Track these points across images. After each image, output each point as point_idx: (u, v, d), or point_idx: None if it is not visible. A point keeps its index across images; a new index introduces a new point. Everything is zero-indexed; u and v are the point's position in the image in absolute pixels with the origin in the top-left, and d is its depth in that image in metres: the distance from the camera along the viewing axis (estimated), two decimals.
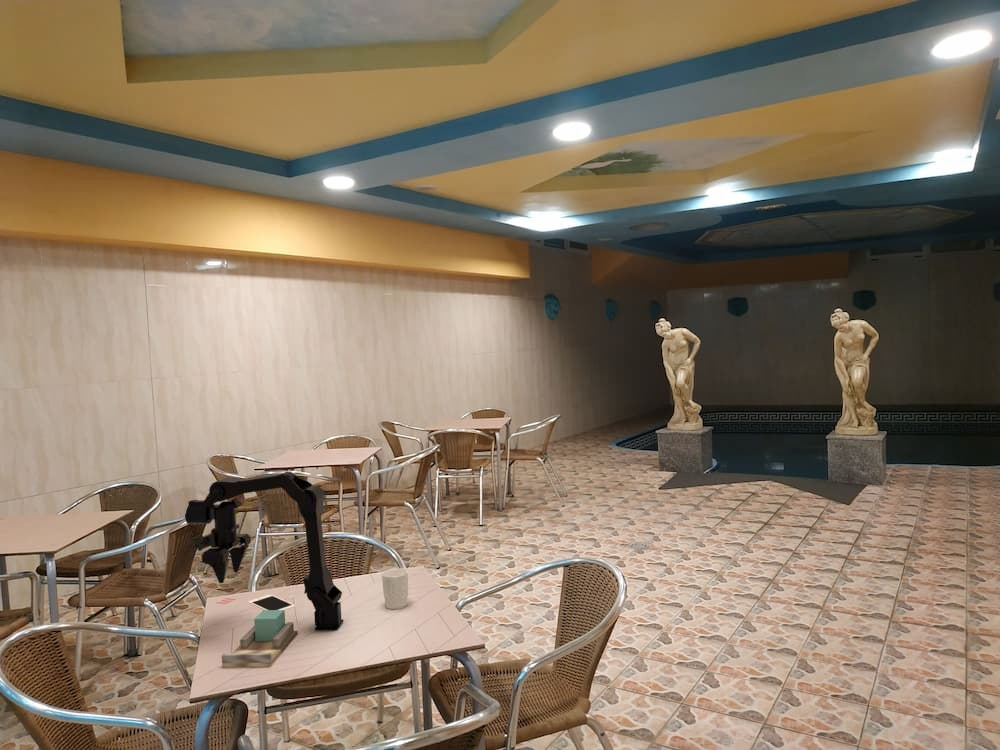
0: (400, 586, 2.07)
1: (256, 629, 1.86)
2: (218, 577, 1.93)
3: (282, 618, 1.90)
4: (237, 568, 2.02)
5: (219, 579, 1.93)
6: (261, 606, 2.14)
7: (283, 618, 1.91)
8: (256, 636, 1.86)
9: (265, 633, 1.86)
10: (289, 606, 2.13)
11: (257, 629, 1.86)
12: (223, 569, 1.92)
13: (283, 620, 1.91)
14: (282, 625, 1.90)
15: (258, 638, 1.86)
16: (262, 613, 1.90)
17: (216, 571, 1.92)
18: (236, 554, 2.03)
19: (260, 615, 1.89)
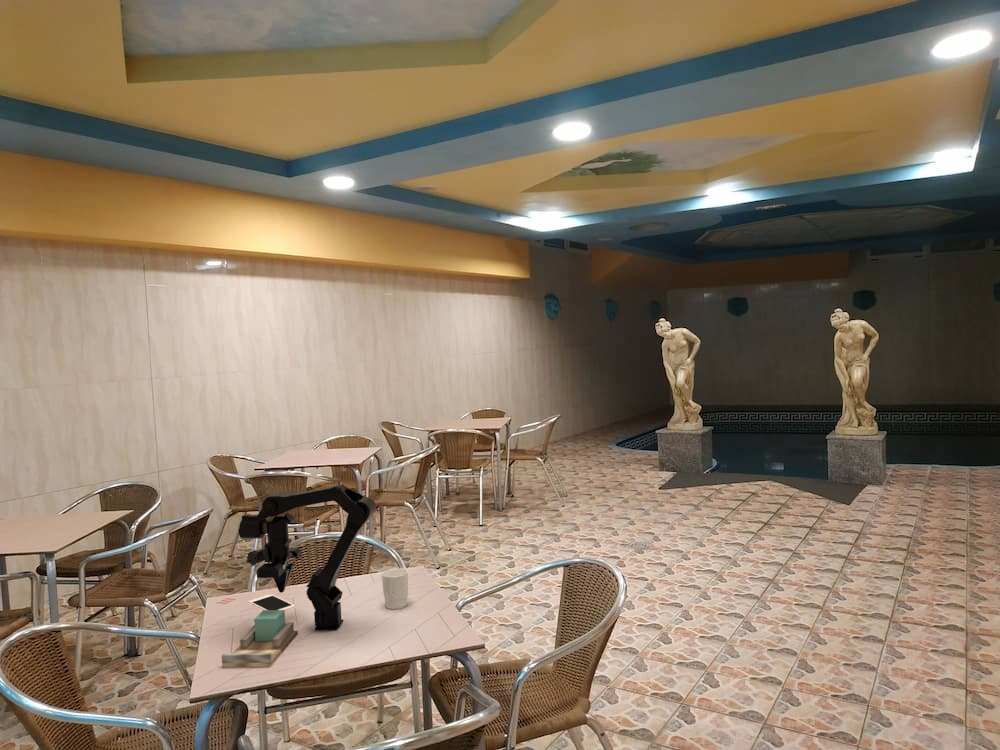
0: (400, 586, 2.07)
1: (256, 629, 1.86)
2: (278, 586, 1.97)
3: (282, 618, 1.90)
4: (284, 588, 1.98)
5: (279, 588, 1.97)
6: (261, 606, 2.14)
7: (283, 618, 1.91)
8: (256, 636, 1.86)
9: (265, 633, 1.86)
10: (289, 606, 2.13)
11: (257, 629, 1.86)
12: (284, 579, 1.96)
13: (283, 620, 1.91)
14: (282, 625, 1.90)
15: (258, 638, 1.86)
16: (262, 613, 1.90)
17: (277, 581, 1.96)
18: None
19: (260, 615, 1.89)
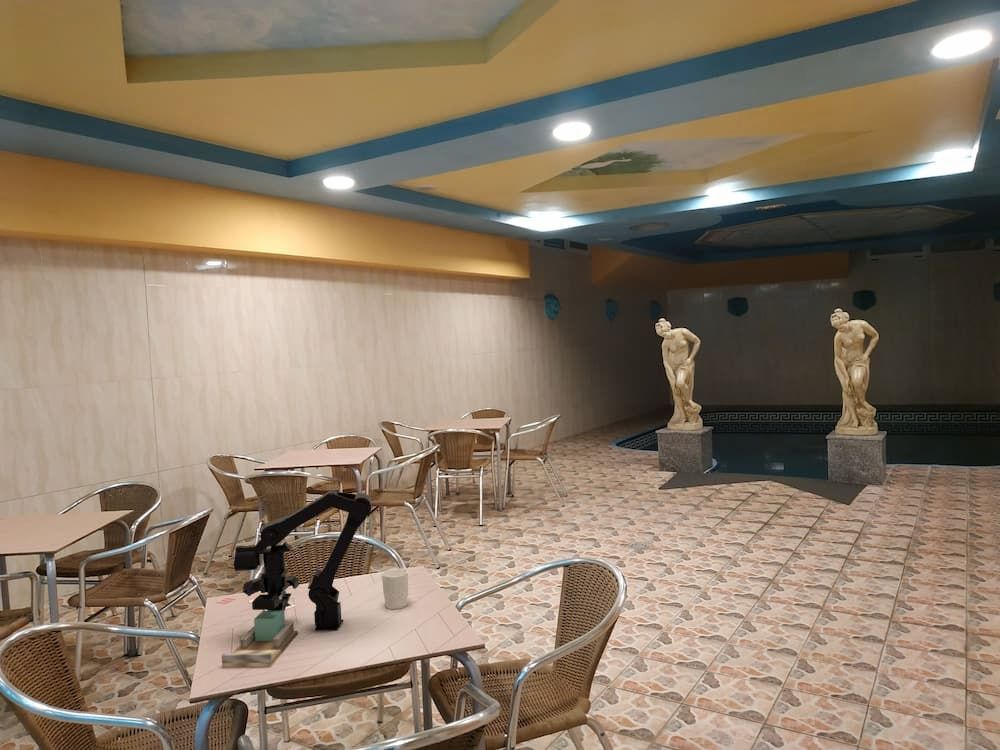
0: (400, 586, 2.07)
1: (256, 629, 1.86)
2: None
3: (282, 618, 1.90)
4: None
5: None
6: None
7: (283, 618, 1.91)
8: (255, 636, 1.86)
9: (265, 633, 1.86)
10: (289, 606, 2.13)
11: (257, 629, 1.86)
12: (280, 609, 1.93)
13: (283, 620, 1.91)
14: (282, 625, 1.90)
15: (258, 638, 1.86)
16: (262, 613, 1.90)
17: None
18: None
19: (260, 615, 1.88)
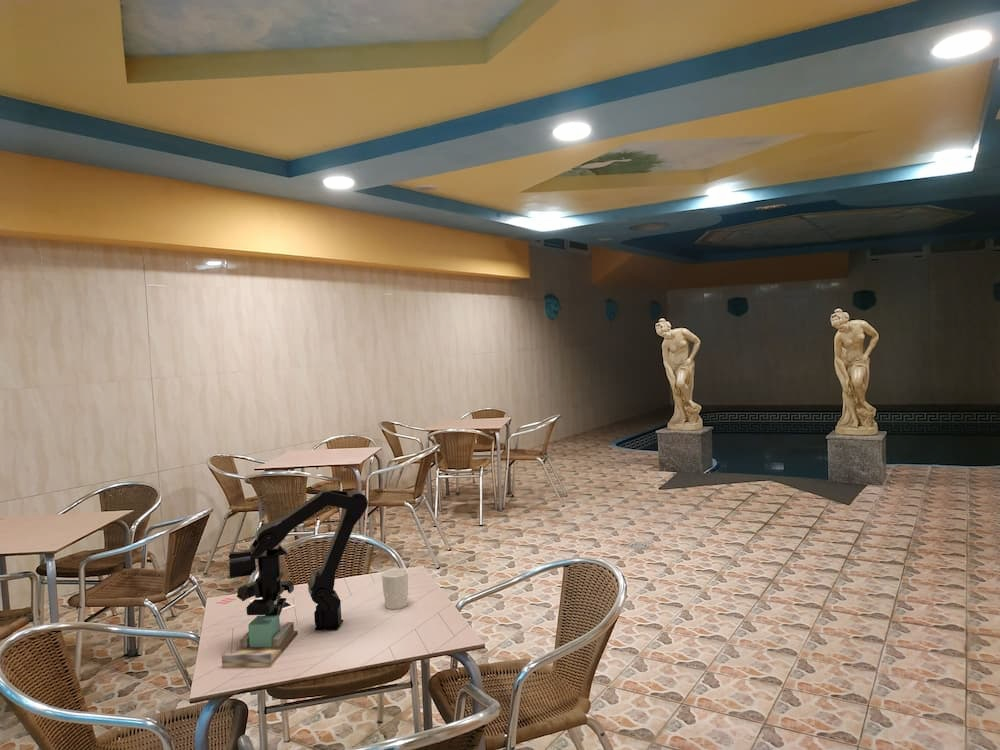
0: (400, 586, 2.07)
1: (250, 635, 1.83)
2: None
3: (277, 624, 1.86)
4: None
5: None
6: None
7: (278, 624, 1.87)
8: (250, 642, 1.83)
9: (260, 639, 1.83)
10: (288, 606, 2.13)
11: (251, 635, 1.83)
12: (275, 614, 1.89)
13: (278, 626, 1.87)
14: (277, 631, 1.86)
15: (252, 644, 1.83)
16: (256, 618, 1.86)
17: None
18: None
19: (254, 621, 1.85)
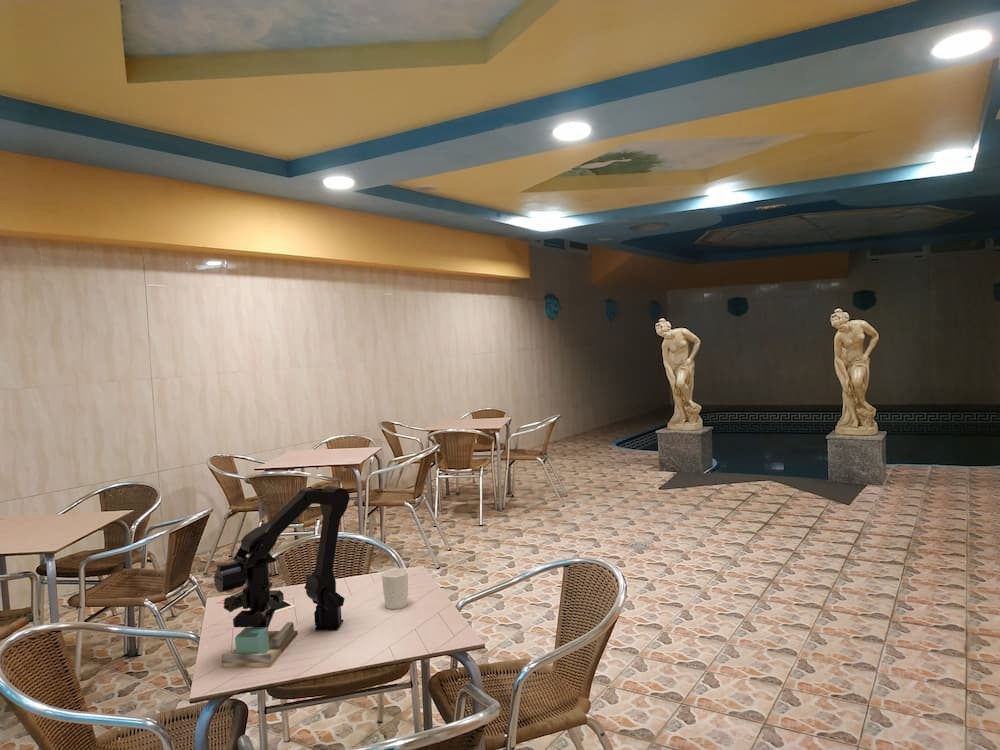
0: (400, 586, 2.07)
1: (237, 648, 1.75)
2: None
3: (265, 636, 1.79)
4: None
5: None
6: None
7: (266, 636, 1.79)
8: None
9: (247, 652, 1.75)
10: (288, 606, 2.13)
11: (238, 648, 1.75)
12: (263, 626, 1.81)
13: (266, 638, 1.79)
14: (265, 643, 1.79)
15: None
16: (244, 631, 1.79)
17: None
18: None
19: (242, 633, 1.77)
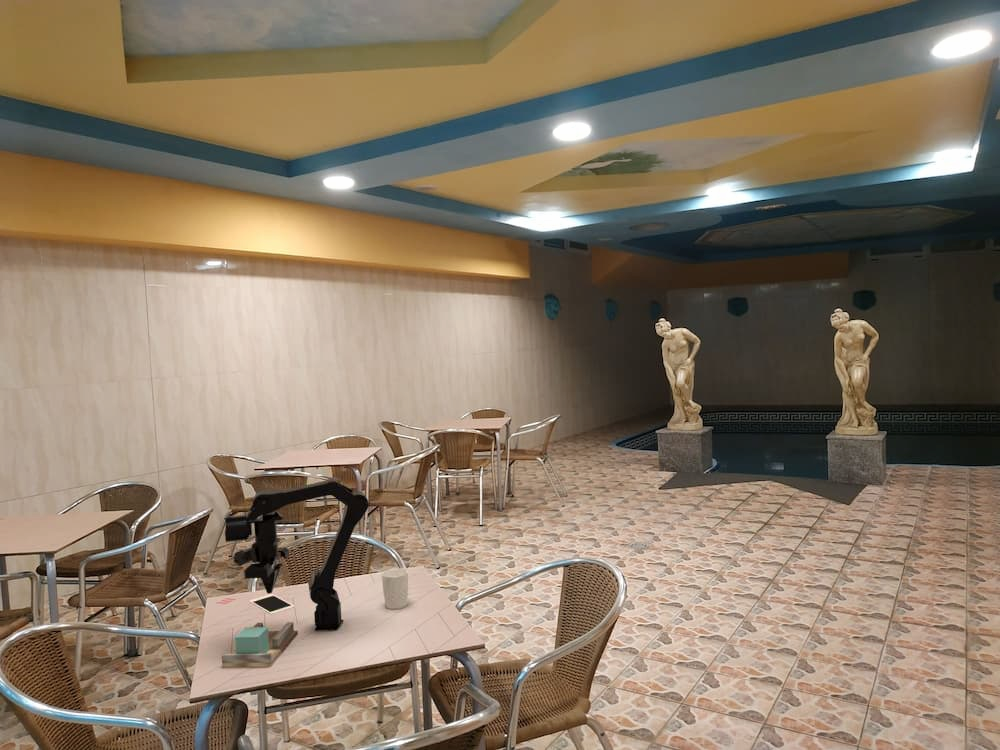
0: (400, 586, 2.07)
1: (237, 648, 1.75)
2: (266, 587, 1.91)
3: (265, 636, 1.79)
4: (272, 589, 1.92)
5: (267, 589, 1.91)
6: (261, 606, 2.14)
7: (266, 636, 1.79)
8: None
9: (247, 652, 1.75)
10: (288, 606, 2.13)
11: (238, 648, 1.75)
12: (272, 579, 1.90)
13: (266, 638, 1.79)
14: (265, 643, 1.79)
15: None
16: (244, 631, 1.79)
17: (264, 581, 1.90)
18: None
19: (242, 633, 1.77)
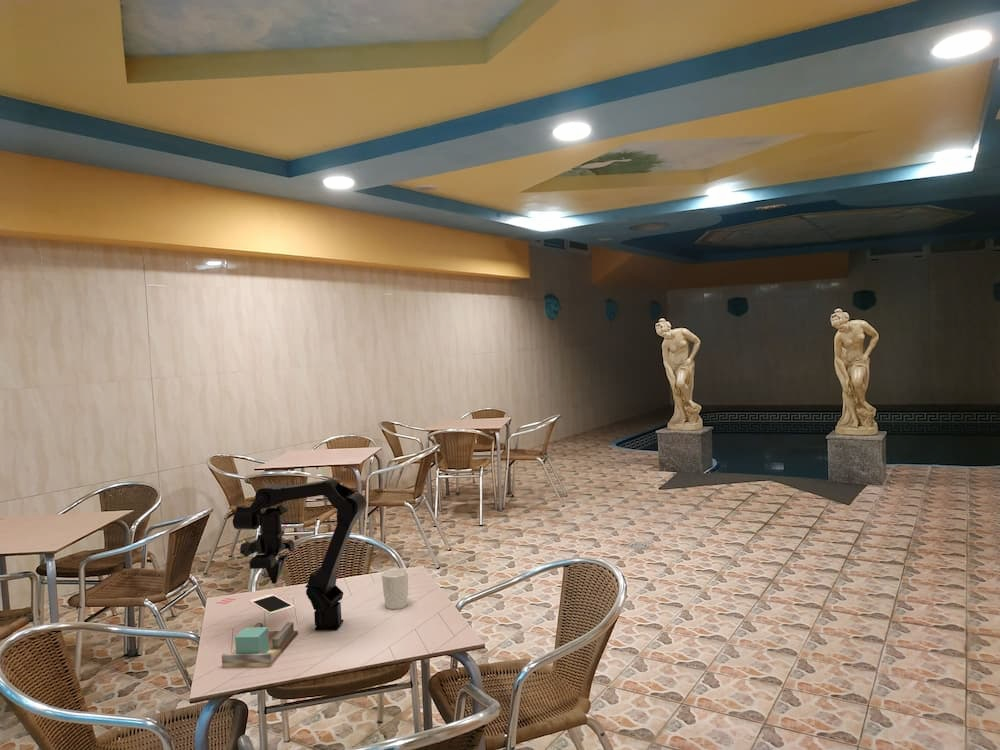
0: (400, 586, 2.07)
1: (237, 648, 1.75)
2: (271, 578, 1.98)
3: (265, 636, 1.79)
4: (276, 579, 1.99)
5: (272, 580, 1.99)
6: (261, 606, 2.14)
7: (266, 636, 1.79)
8: None
9: (247, 652, 1.75)
10: (288, 607, 2.13)
11: (238, 648, 1.75)
12: (276, 570, 1.98)
13: (266, 638, 1.79)
14: (265, 643, 1.79)
15: None
16: (244, 631, 1.79)
17: (269, 572, 1.98)
18: None
19: (242, 633, 1.77)
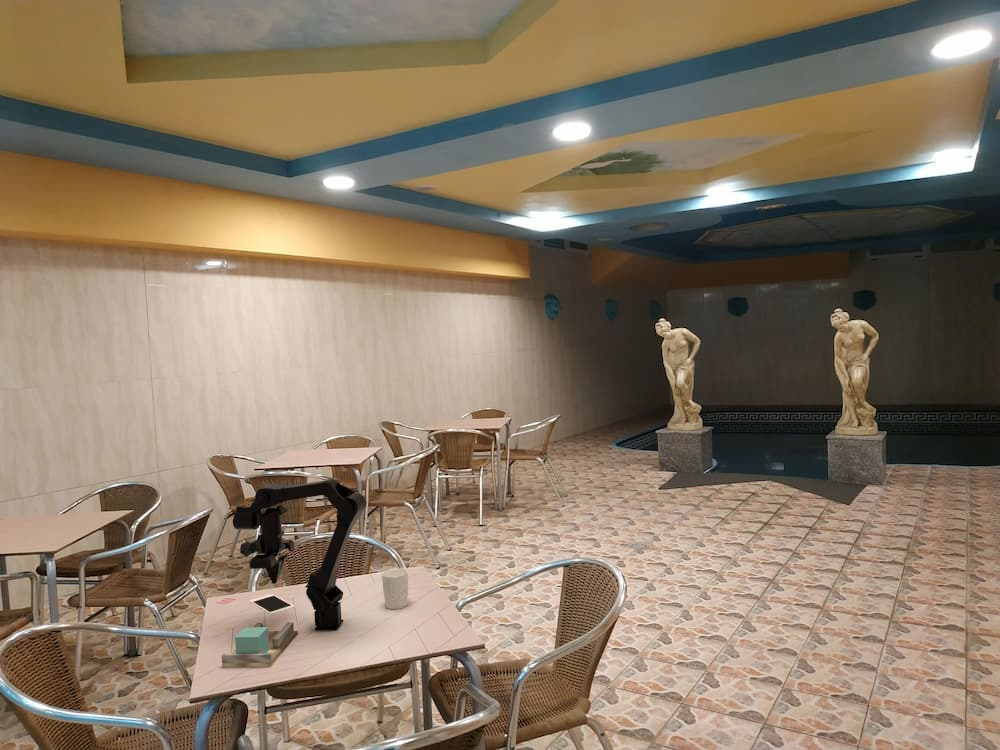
0: (400, 586, 2.07)
1: (237, 648, 1.75)
2: (271, 578, 1.98)
3: (265, 636, 1.79)
4: (276, 579, 1.99)
5: (272, 580, 1.99)
6: (261, 606, 2.14)
7: (266, 636, 1.79)
8: None
9: (247, 652, 1.75)
10: (288, 607, 2.13)
11: (238, 648, 1.75)
12: (276, 570, 1.98)
13: (266, 638, 1.79)
14: (265, 643, 1.79)
15: None
16: (244, 631, 1.79)
17: (269, 572, 1.98)
18: None
19: (242, 633, 1.77)
